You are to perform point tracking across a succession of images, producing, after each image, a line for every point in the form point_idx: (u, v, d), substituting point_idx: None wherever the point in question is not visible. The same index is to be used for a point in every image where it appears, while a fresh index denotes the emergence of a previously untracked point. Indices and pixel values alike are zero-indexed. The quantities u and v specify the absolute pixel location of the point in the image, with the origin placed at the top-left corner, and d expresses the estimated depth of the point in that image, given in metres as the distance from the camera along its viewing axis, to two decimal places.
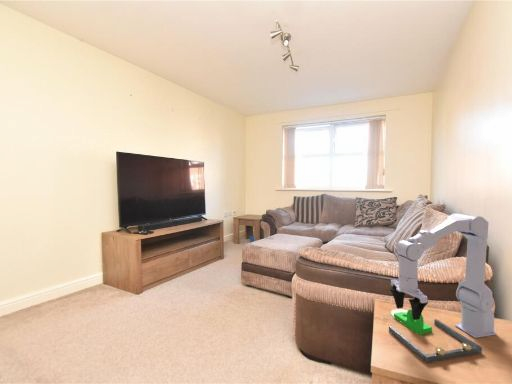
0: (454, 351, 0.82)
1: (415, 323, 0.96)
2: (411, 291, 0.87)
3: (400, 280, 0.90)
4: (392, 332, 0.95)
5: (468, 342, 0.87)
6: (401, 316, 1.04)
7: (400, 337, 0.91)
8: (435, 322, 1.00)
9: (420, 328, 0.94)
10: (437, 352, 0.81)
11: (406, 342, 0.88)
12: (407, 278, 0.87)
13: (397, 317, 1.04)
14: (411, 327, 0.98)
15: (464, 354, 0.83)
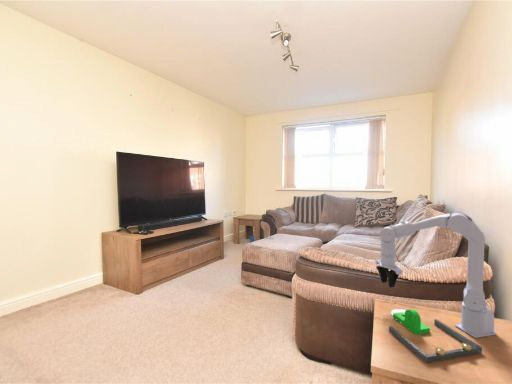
0: (454, 351, 0.82)
1: (412, 323, 0.96)
2: (390, 266, 1.10)
3: (382, 258, 1.12)
4: (392, 332, 0.95)
5: (468, 342, 0.87)
6: (400, 316, 1.04)
7: (400, 337, 0.91)
8: (435, 322, 1.00)
9: (417, 328, 0.94)
10: (437, 352, 0.81)
11: (406, 342, 0.88)
12: (387, 256, 1.10)
13: (396, 317, 1.04)
14: (408, 327, 0.98)
15: (464, 354, 0.83)
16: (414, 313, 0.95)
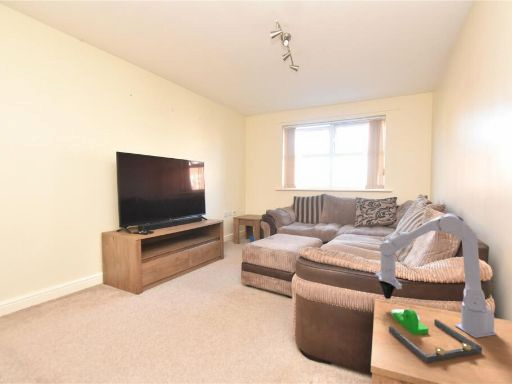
0: (454, 351, 0.82)
1: (410, 323, 0.96)
2: (390, 280, 1.11)
3: (381, 271, 1.13)
4: (392, 332, 0.95)
5: (468, 342, 0.87)
6: (399, 316, 1.04)
7: (400, 337, 0.91)
8: (435, 322, 1.00)
9: (415, 328, 0.94)
10: (437, 352, 0.81)
11: (406, 342, 0.88)
12: (387, 270, 1.11)
13: (395, 317, 1.04)
14: (407, 327, 0.98)
15: (464, 354, 0.83)
16: (412, 313, 0.95)
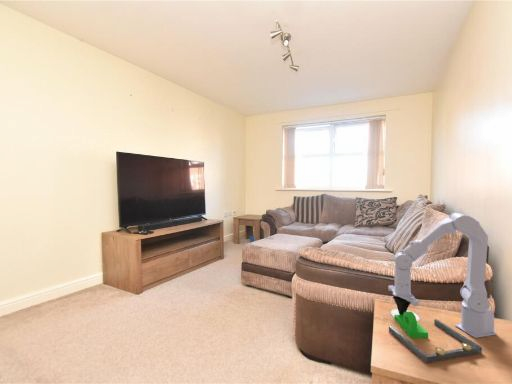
0: (454, 351, 0.82)
1: (408, 325, 0.94)
2: (405, 296, 1.02)
3: (396, 286, 1.05)
4: (392, 332, 0.95)
5: (468, 342, 0.87)
6: (400, 318, 1.02)
7: (400, 337, 0.91)
8: (435, 322, 1.00)
9: (413, 330, 0.93)
10: (437, 352, 0.81)
11: (406, 342, 0.88)
12: (402, 284, 1.02)
13: (396, 318, 1.03)
14: (406, 329, 0.96)
15: (464, 354, 0.83)
16: (410, 315, 0.94)
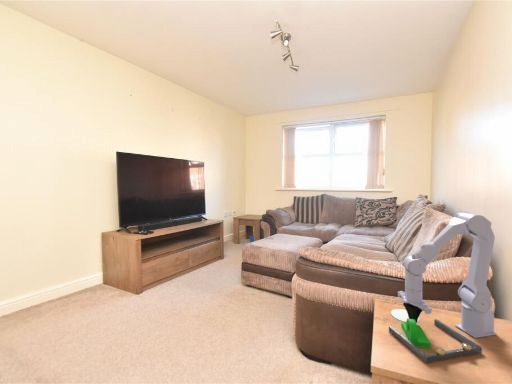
0: (454, 351, 0.82)
1: (409, 333, 0.90)
2: (416, 303, 0.97)
3: (406, 292, 0.99)
4: (392, 332, 0.95)
5: (468, 342, 0.87)
6: None
7: (400, 337, 0.91)
8: (435, 322, 1.00)
9: (413, 339, 0.88)
10: (437, 352, 0.81)
11: (406, 342, 0.88)
12: (413, 291, 0.97)
13: (402, 326, 0.98)
14: (408, 337, 0.92)
15: (464, 354, 0.83)
16: (411, 323, 0.89)
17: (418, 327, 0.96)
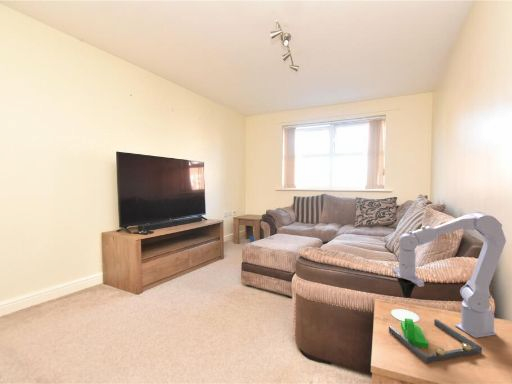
0: (454, 351, 0.82)
1: (406, 333, 0.90)
2: (410, 277, 1.01)
3: (400, 268, 1.03)
4: (392, 332, 0.95)
5: (468, 342, 0.87)
6: None
7: (400, 337, 0.91)
8: (435, 322, 1.00)
9: (410, 338, 0.89)
10: (437, 352, 0.81)
11: (406, 342, 0.88)
12: (406, 266, 1.01)
13: (402, 325, 0.98)
14: (405, 337, 0.92)
15: (464, 354, 0.83)
16: (409, 322, 0.90)
17: (417, 327, 0.96)
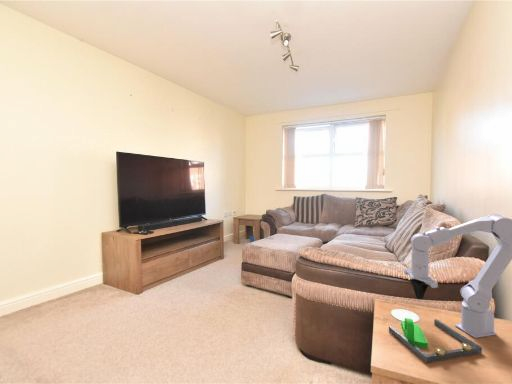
0: (454, 351, 0.82)
1: (406, 332, 0.90)
2: (423, 278, 0.99)
3: (413, 268, 1.02)
4: (392, 332, 0.95)
5: (468, 342, 0.87)
6: None
7: (400, 337, 0.91)
8: (435, 322, 1.00)
9: (409, 338, 0.89)
10: (437, 352, 0.81)
11: (406, 342, 0.88)
12: (419, 266, 1.00)
13: (402, 325, 0.99)
14: (405, 336, 0.92)
15: (464, 354, 0.83)
16: (408, 322, 0.90)
17: (417, 327, 0.96)
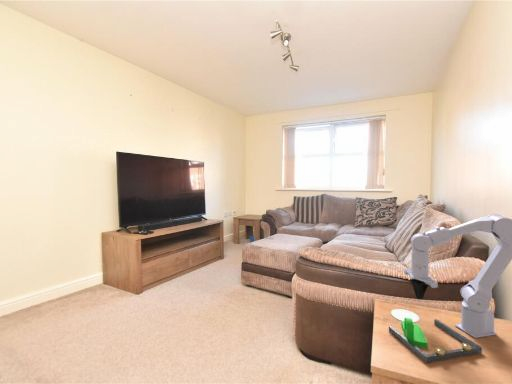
0: (454, 351, 0.82)
1: (406, 332, 0.91)
2: (423, 278, 0.99)
3: (413, 268, 1.02)
4: (392, 332, 0.95)
5: (468, 342, 0.87)
6: None
7: (400, 337, 0.91)
8: (435, 322, 1.00)
9: (409, 338, 0.89)
10: (437, 352, 0.81)
11: (406, 342, 0.88)
12: (419, 266, 1.00)
13: (402, 325, 0.99)
14: (405, 336, 0.92)
15: (464, 354, 0.83)
16: (408, 322, 0.90)
17: (417, 327, 0.96)
